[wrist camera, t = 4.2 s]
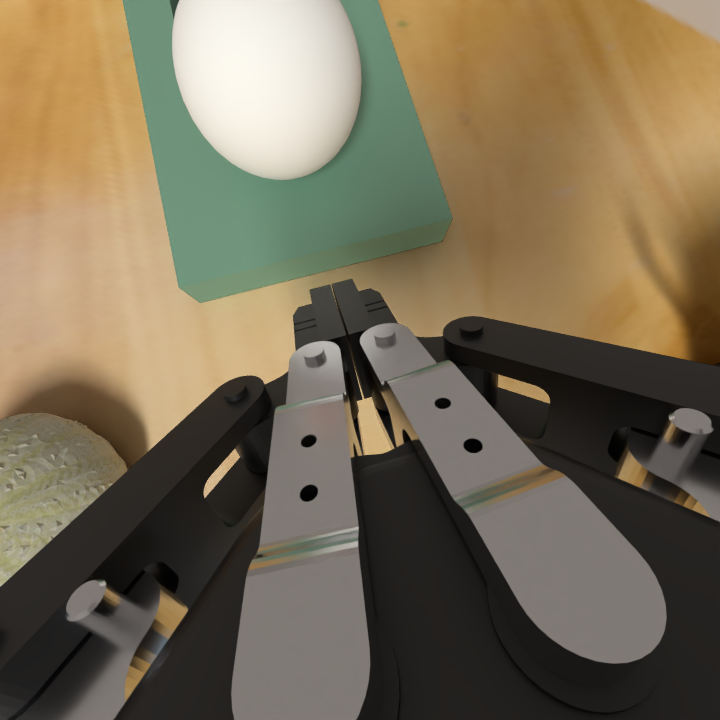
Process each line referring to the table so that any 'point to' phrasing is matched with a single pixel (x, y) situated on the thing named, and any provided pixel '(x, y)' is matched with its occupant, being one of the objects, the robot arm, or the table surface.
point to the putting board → (288, 197)
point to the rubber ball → (269, 80)
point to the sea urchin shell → (47, 481)
